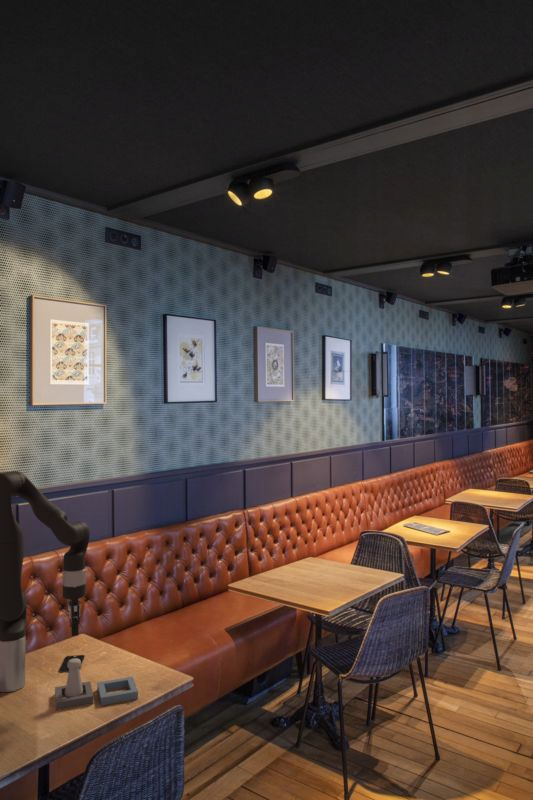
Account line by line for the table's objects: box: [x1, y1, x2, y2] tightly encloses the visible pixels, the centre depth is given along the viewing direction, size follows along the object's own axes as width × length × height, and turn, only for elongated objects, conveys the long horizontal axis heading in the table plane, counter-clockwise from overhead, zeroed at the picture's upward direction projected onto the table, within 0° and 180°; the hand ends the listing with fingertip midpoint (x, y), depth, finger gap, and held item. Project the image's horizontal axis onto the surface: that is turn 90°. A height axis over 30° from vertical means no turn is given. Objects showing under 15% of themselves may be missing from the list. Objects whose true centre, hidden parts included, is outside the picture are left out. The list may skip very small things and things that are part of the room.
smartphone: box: [58, 654, 86, 674], centre depth 223 cm, size 8×1×15 cm
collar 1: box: [54, 681, 94, 711], centre depth 195 cm, size 12×12×2 cm
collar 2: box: [96, 676, 139, 706], centre depth 198 cm, size 12×12×2 cm
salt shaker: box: [65, 658, 84, 698], centre depth 195 cm, size 6×6×13 cm
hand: (74, 631), depth 195 cm, fingers open, 8 cm apart
